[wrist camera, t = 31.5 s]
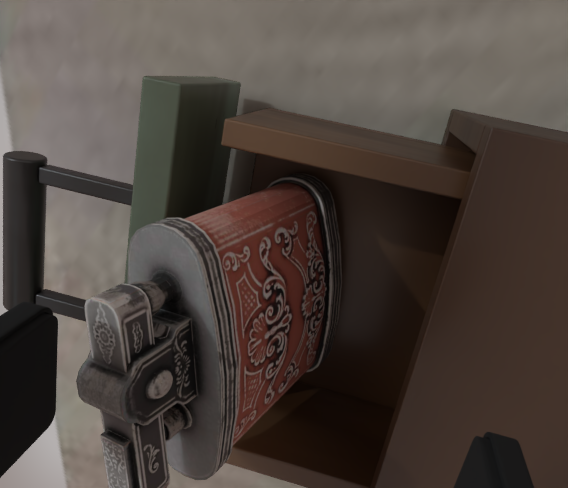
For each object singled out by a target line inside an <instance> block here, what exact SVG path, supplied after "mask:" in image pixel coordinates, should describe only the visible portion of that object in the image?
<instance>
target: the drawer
mask: <svg viewBox="0 0 568 488" xmlns="http://www.w3.org/2000/svg"><path fill="white" fill-rule="evenodd" d="M240 86H241V84H240V82H237V81H232V80H227V79H222V78H217V77H187V76H144V77H143V83H142V94H141V105H140V116H139V127H138V138H137V149H136V161H135V172H134V183H133V185H131V184H127V183H122V182H118V181H114V180H110V179H106V178H102V177H98V176H93V175H89V174H85V173H81V172H77V171H73V170H69V169H64V168H60V167H56V166H52V165H47V158H46V157H45V156H43V155H41V154H38V153H33V152H25V151H13V152H8V153H5V154H4V156H3V305H4V307H5V308H6V309H7V310H10V309H12V308H13V307H15V306H17V305H18V304H20V303H22V302H30V303H34V304H37V305H41V306H45V307H48V308H50V309H51V310H52V312H54V313H57V314H61V315H65V316H68V317H72V318H75V319H79V320H83V321H86V316H85V303H86V300H84V299H80V298H76V297H73V296H69V295H65V294H62V293H58V292H54V291H51V290H47V289H44V290H43V286H44V253H45V220H46V187H47V185H50V186H54V187H58V188H62V189H66V190H70V191H74V192H78V193H82V194H86V195H90V196H94V197H98V198H102V199H106V200H110V201H114V202H119V203H123V204H127V205H131V216H130V227H129V238H128V250H129V246H130V241H131V238H132V237H133V235H134V234H135V233H136V231H137V230H138V229H140V228H142V227H144V226H146V225H149V224H151V223H154V222H157V221H160V220H163V219H166V218H182V219H185V218H188V217H190V216H193V215H196V214H198V213H201V212H204V211H207V210H209V209H212V208H215V207H218V206H220V205H222V203H223V197H224V190H225V184H226V177H227V171H228V164H229V158H230V151H231V148H235V149H239V150H243V151H248V152H252V153H256V159H255V165H254V171H253V177H252V182H251V188H250V194H253V193H256V192H259V191H261V190H264V189H266V188H267V187H268V186H269V185H270V184H271V183H272V182H274V181H276V180H278V179H280V178H283V177H286V176H288V175H291V174H300V173H304V174H308V175H311V176H314V177H316V178H317V179H319V180H320V181H322V182H323V183H324V184H325V185H326V186H327V188H328V189H329V190H330V192H331V194H332V197H333V200H334V205H335V211H336V217H337V224H338V230H339V236H340V246H341V269H342V287H341V298H340V308H339V318H338V323H337V327H336V332H335V336H334V340H333V345H332V349H331V351H330V353H329V355H328V357H327V358H326V359H325V360H324V361H323V362H322V363H321V364H320V365H319V366H318V367H317V368H315V369H314V370H312V371H310V372H305V373H304V374H303V375H302V376H301V377H300V378H299V379H298V380H297V381H296V382H295V383H294V384H293V385H292V386H291V387H290V388H289V390H288V391H287V392H286V393H285V394H284V395H283V396H282V397H281V398H280V399H279V400H278V401H277V402H276V403H275V404H274V405H273V406H272V407H271V408H270V409H269V410H268V411H267V412H266V413H265V414H264V415H263V416H262V417H261V418H260V419H259V420H258V421H257V422H256V423H255V424H254V425H253V426H252V427H251V428H250V429H249V430H248V431H247V432H246V433H245V434H244V435H243V436H242V437H241V438H240V439H239V440H238V441H237V442H236V443H235V444H234V445H233V446H232V452H231V454H230V457H229V459H228V460H227V461H226V462H225V463H228V464H231V465H235V466H238V467H241V468H245V469H248V470H251V471H254V472H258V473H261V474H264V475H268V476H271V477H274V478H278V479H281V480H284V481H287V482H291V483H294V484H297V485H301V486H304V487H307V488H370V486H371V483H372V480H373V477H374V473H375V470H376V467H377V464H378V461H379V458H380V455H381V452H382V448H383V445H384V442H385V439H386V436H387V433H388V430H389V426H390V423H391V420H392V417H393V414H394V411H395V408H396V405H397V401H398V398H399V395H400V392H401V389H402V386H403V383H404V379H405V376H406V373H407V370H408V367H409V364H410V361H411V358H412V354H413V351H414V348H415V345H416V342H417V339H418V336H419V332H420V329H421V326H422V323H423V320H424V317H425V314H426V311H427V307H428V304H429V301H430V298H431V295H432V292H433V289H434V285H435V282H436V279H437V276H438V273H439V270H440V267H441V264H442V260H443V257H444V254H445V251H446V248H447V245H448V242H449V238H450V235H451V232H452V229H453V226H454V223H455V220H456V217H457V213H458V210H459V207H460V204H461V201H462V198H463V195H464V191H465V188H466V185H467V182H468V179H469V176H470V173H471V170H472V166H473V163H474V160H475V157H476V153H474V152H473V151H468V150H464V149H459V148H454V147H450V146H445V145H440V144H436V143H431V142H426V141H422V140H417V139H412V138H408V137H403V136H398V135H394V134H389V133H384V132H380V131H375V130H370V129H366V128H361V127H356V126H352V125H347V124H342V123H338V122H333V121H328V120H324V119H319V118H314V117H310V116H305V115H300V114H296V113H291V112H286V111H282V110H277V109H272V108H267V109H263V110H259V111H255V112H251V113H247V114H243V115H239V116H236V112H237V106H238V99H239V93H240ZM250 194H249V195H250ZM128 250H127V261H126V272H125V283H124V284H128Z"/></svg>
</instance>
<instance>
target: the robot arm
mask: <svg viewBox="0 0 568 488" xmlns="http://www.w3.org/2000/svg"><path fill="white" fill-rule="evenodd" d="M57 336H58V320H57V318H56V317H55V316H53V312H52V310H51V309H50V308H48V307H45V306H41V305H37V304H34V303H30V302H22V303H20V304H18V305H17V306H15V307H13V308H12V309H10V310H9V311H7V312H6V313H4V314H2V315H1V316H0V477H1V476H2V475H3V474H4V473H5V472H6V471H7V470H8V469H9V468H10V467H11V466H12V465H13V464H14V463H15V462H16V461H17V459H19V458H20V456H21V455H22V454H23V453H24V452H25V451H26V450H27V449H28V448H29V447H30V446H31V445H32V444H33V443H34V442H35V441H36V440H37V439H38V438H39V437H40V436H41V435H42V433H43V432H44V431H45V430H46V429H47V428H48V427H49V426H50V424H51V423H52V421H53V418H54V415H55V410H56V374H57ZM454 488H534V486H533V483H532V480H531V477H530V474H529V471H528V468H527V465H526V462H525V459H524V456H523V453H522V450H521V447H520V444H519V442H518V440H516V439H513V438H510V437H506V436H503V435H499V434H496V433H492V432H486V433H485V434H484V436H483V437H479V436H475V438H474V439H473V441H472V443H471V446H470V448H469V451H468V453H467V456H466V458H465V461H464V463H463V466H462V468H461V471H460V473H459V476H458V478H457V480H456V483H455V485H454Z"/></svg>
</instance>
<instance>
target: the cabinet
mask: <svg viewBox="0 0 568 488" xmlns="http://www.w3.org/2000/svg"><path fill="white" fill-rule="evenodd" d="M441 145H445V146H450V147H454V148H459V149H464V150H468V151H473V152H474V153H476V157H475V160H474V163H473V166H472V170H471V173H470V176H469V179H468V182H467V185H466V188H465V191H464V195H463V198H462V201H461V204H460V207H459V210H458V213H457V217H456V220H455V223H454V226H453V229H452V232H451V235H450V238H449V242H448V245H447V248H446V251H445V254H444V257H443V260H442V264H441V267H440V270H439V273H438V276H437V279H436V282H435V285H434V289H433V292H432V295H431V298H430V301H429V304H428V307H427V311H426V314H425V317H424V320H423V323H422V326H421V329H420V332H419V336H418V339H417V342H416V345H415V348H414V351H413V354H412V358H411V361H410V364H409V367H408V370H407V373H406V376H405V379H404V383H403V386H402V389H401V392H400V395H399V398H398V401H397V405H396V408H395V411H394V414H393V417H392V420H391V423H390V426H389V430H388V433H387V436H386V439H385V442H384V445H383V448H382V452H381V455H380V458H379V461H378V464H377V467H376V470H375V473H374V477H373V480H372V483H371V486H370V488H454V485H455V483H456V480H457V478H458V476H459V473H460V471H461V468H462V466H463V463H464V461H465V458H466V456H467V453H468V451H469V448H470V446H471V443H472V441H473V439H474V438H475V436H479V437H483V436H484V434H485V433H486V432H492V433H496V434H499V435H503V436H506V437H510V438H513V439H516V440H518V442H519V444H520V447H521V450H522V453H523V456H524V459H525V462H526V465H527V468H528V471H529V474H530V477H531V480H532V483H533V486H534V488H568V133H567V132H562V131H558V130H553V129H548V128H543V127H538V126H533V125H528V124H524V123H519V122H514V121H509V120H504V119H499V118H494V117H489V116H485V115H480V114H475V113H470V112H465V111H460V110H455V109H452V110H451V114H450V117H449V120H448V124H447V127H446V131H445V134H444V137H443V141H442V144H441Z"/></svg>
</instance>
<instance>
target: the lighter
mask: <svg viewBox="0 0 568 488" xmlns="http://www.w3.org/2000/svg"><path fill="white" fill-rule="evenodd" d="M341 287H342V269H341V246H340V236H339V230H338V224H337V217H336V211H335V205H334V200H333V197H332V194H331V192H330V190H329V189H328V188H327V186H326V185H325V184H324V183H323V182H322V181H320V180H319V179H317V178H316V177H314V176H311V175H308V174H304V173H300V174H291V175H288V176H286V177H283V178H280V179H278V180H276V181H274V182H272V183H271V184H270V185H269V186H268V187H267V188H266V189H264V190H261V191H259V192H256V193H253V194H250V195H248V196H245V197H242V198H239V199H237V200H234V201H231V202H229V203H226V204H223V205H220V206H218V207H215V208H212V209H209V210H207V211H204V212H201V213H198V214H196V215H193V216H190V217H188V218H185V219H182V218H166V219H163V220H160V221H157V222H154V223H151V224H149V225H146V226H144V227H142V228H140V229H138V230H137V231H136V233H135V234H134V235H133V237H132V238H131V241H130V246H129V250H128V284H120V285H118V286H116V287H113V288H111V289H109V290H107V291H105V292H102V293H100V294H98V295H96V296H93V297H91V298H89V299H88V300H86V303H85V316H86V323H87V329H88V335H89V342H90V348H91V351H90V353H89V356H88V358H87V360H86V361H85V362H84V363H83V365H82V366H81V368H80V370H79V372H78V376H77V381H76V382H77V388H78V394H79V397H80V398H81V399H82V400H83V401H84V402H85V403H87V404H89V405H92V406H94V407H96V408H98V409H100V411H101V417H102V423H103V430H104V433H102V434H101V441H102V447H103V453H104V460H105V466H106V472H107V478H108V484H109V488H166V487H167V486H168V485H169V482H170V476H169V467H168V464H169V465H170V466H171V467H173V468H174V469H175V470H177V471H178V472H180V473H181V474H183V475H184V476H186V477H189V478H192V479H195V480H206V479H208V478H209V477H211V476H213V475H214V474H215V473H216V472H217V471H218V470H219V469H220V467H221V466H222V465H223V464H224V463H225V462H226V461H227V460H228V459H229V457H230V454H231V452H232V446H233V445H234V444H235V443H236V442H237V441H238V440H239V439H240V438H241V437H242V436H243V435H244V434H245V433H246V432H247V431H248V430H249V429H250V428H251V427H252V426H253V425H254V424H255V423H256V422H257V421H258V420H259V419H260V418H261V417H262V416H263V415H264V414H265V413H266V412H267V411H268V410H269V409H270V408H271V407H272V406H273V405H274V404H275V403H276V402H277V401H278V400H279V399H280V398H281V397H282V396H283V395H284V394H285V393H286V392H287V391H288V390H289V388H290V387H291V386H292V385H293V384H294V383H295V382H296V381H297V380H298V379H299V378H300V377H301V376H302V375H303V374H304V373H305V372H310V371H312V370H314V369H315V368H317V367H318V366H319V365H320V364H321V363H322V362H323V361H324V360H325V359H326V358H327V357H328V355H329V353H330V351H331V349H332V345H333V340H334V336H335V332H336V327H337V323H338V318H339V308H340V298H341Z"/></svg>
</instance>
